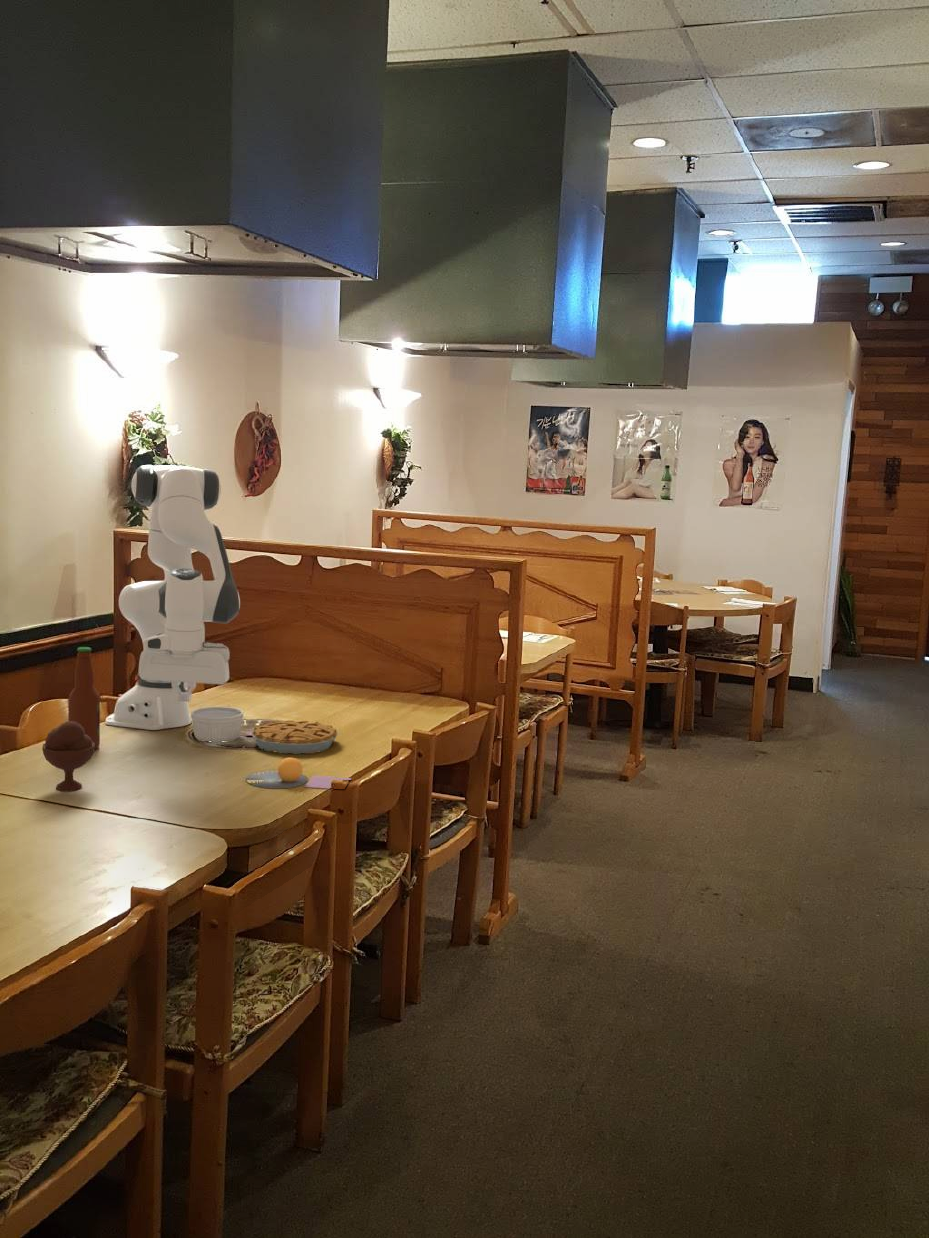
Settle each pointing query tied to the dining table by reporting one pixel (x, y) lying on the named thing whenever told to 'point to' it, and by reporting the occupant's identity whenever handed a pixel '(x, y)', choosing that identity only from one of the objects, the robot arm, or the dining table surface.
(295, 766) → the ball
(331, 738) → the pie
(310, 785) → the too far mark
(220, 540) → the robot arm
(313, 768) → the dining table surface
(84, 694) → the bottle
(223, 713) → the ramekin
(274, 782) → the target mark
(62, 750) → the ice cream bowl
